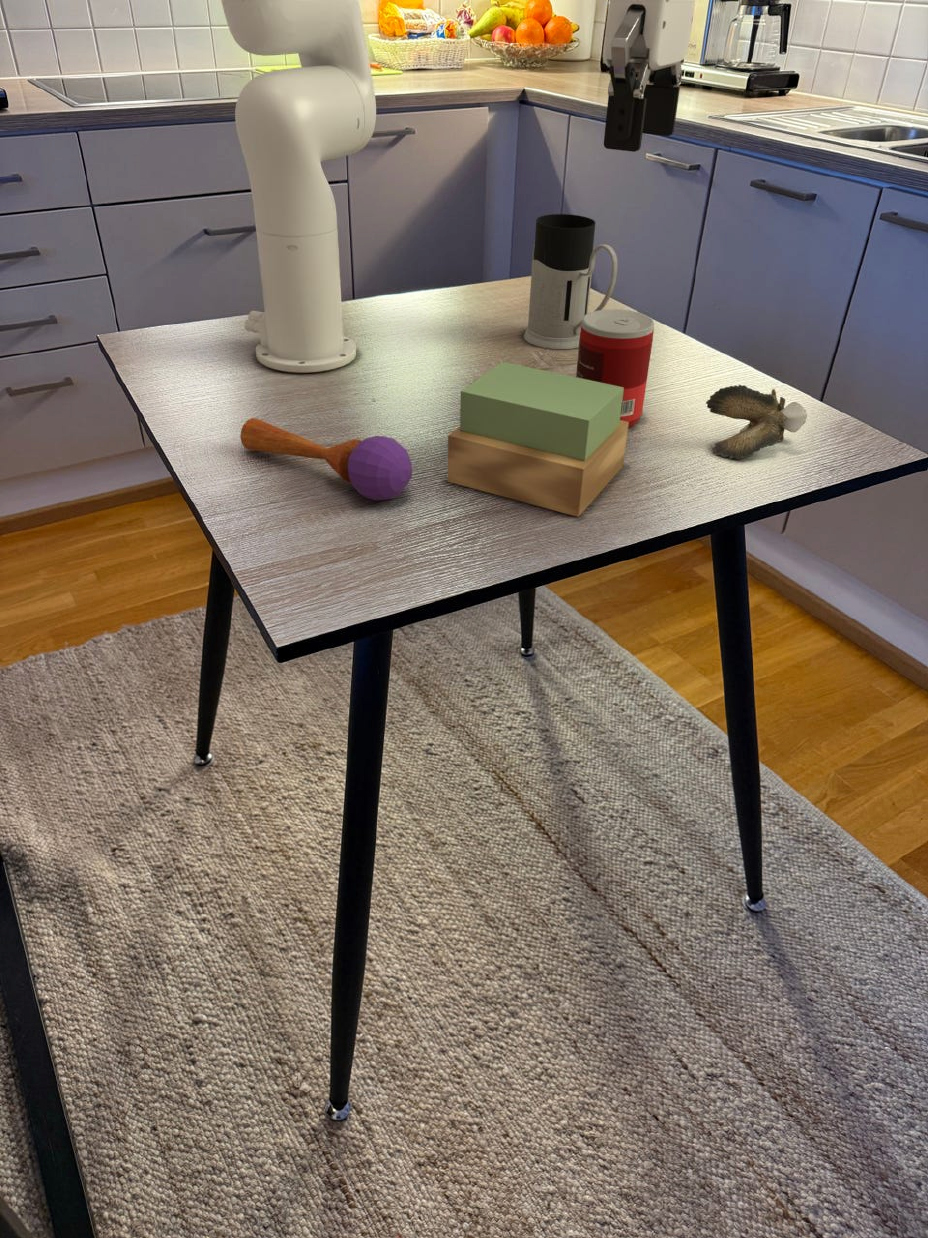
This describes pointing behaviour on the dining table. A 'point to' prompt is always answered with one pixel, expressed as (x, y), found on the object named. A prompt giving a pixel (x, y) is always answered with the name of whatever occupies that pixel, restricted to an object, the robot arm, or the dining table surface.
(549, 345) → the glass holder
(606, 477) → the maple block
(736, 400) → the eagle figurine
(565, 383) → the sage block
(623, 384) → the canned food
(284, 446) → the purple wooden maraca
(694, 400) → the dining table surface
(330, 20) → the robot arm
